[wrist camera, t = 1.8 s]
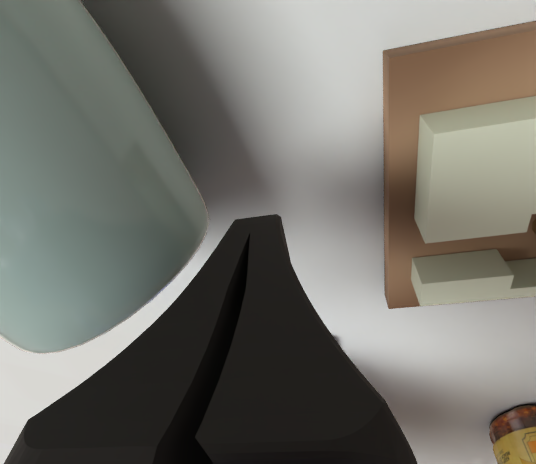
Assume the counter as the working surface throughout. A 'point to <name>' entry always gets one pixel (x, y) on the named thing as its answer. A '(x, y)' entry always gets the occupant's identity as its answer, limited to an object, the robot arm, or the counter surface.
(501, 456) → the sauce bottle
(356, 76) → the counter surface
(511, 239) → the board
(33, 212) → the cup
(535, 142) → the panel
